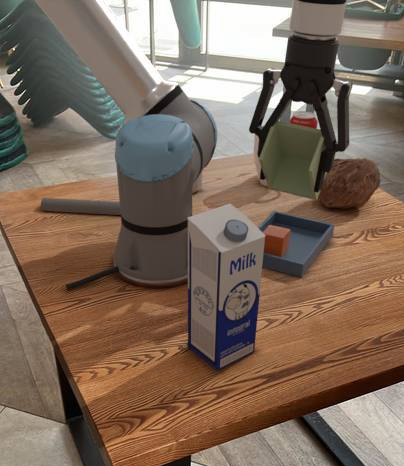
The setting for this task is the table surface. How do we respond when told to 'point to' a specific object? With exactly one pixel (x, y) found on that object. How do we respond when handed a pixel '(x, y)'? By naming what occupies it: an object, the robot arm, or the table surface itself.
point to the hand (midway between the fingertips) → (290, 183)
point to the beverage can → (304, 119)
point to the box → (292, 159)
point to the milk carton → (223, 284)
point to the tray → (297, 242)
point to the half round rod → (81, 206)
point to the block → (276, 240)
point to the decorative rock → (350, 183)
